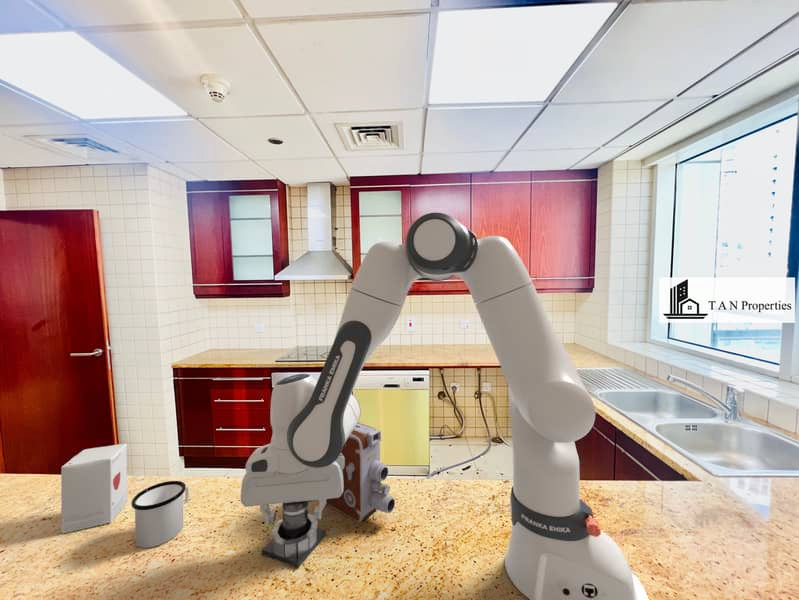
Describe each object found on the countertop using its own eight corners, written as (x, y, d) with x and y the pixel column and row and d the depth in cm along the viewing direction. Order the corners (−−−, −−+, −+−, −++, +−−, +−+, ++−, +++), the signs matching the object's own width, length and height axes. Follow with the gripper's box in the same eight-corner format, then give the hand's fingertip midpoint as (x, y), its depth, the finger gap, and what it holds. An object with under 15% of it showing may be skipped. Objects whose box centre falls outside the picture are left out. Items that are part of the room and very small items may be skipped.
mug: (158, 554, 63) (157, 509, 63) (119, 548, 65) (118, 504, 65) (205, 513, 75) (204, 476, 75) (171, 509, 77) (170, 472, 77)
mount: (326, 534, 68) (325, 517, 68) (298, 568, 59) (297, 548, 59) (292, 524, 71) (292, 507, 71) (261, 554, 63) (261, 535, 63)
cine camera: (375, 540, 66) (374, 445, 66) (316, 504, 78) (315, 424, 78) (401, 515, 74) (400, 430, 73) (344, 486, 85) (343, 413, 85)
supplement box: (112, 523, 72) (110, 458, 72) (60, 535, 69) (58, 467, 69) (129, 500, 80) (128, 442, 80) (83, 509, 77) (82, 448, 77)
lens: (310, 528, 69) (310, 490, 69) (305, 546, 63) (304, 505, 63) (286, 529, 68) (286, 491, 68) (278, 548, 63) (278, 507, 63)
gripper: (345, 442, 70) (346, 505, 70) (248, 450, 67) (249, 514, 67) (344, 457, 63) (344, 525, 64) (236, 465, 61) (237, 536, 61)
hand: (294, 519), depth 65 cm, fingers open, 8 cm apart
